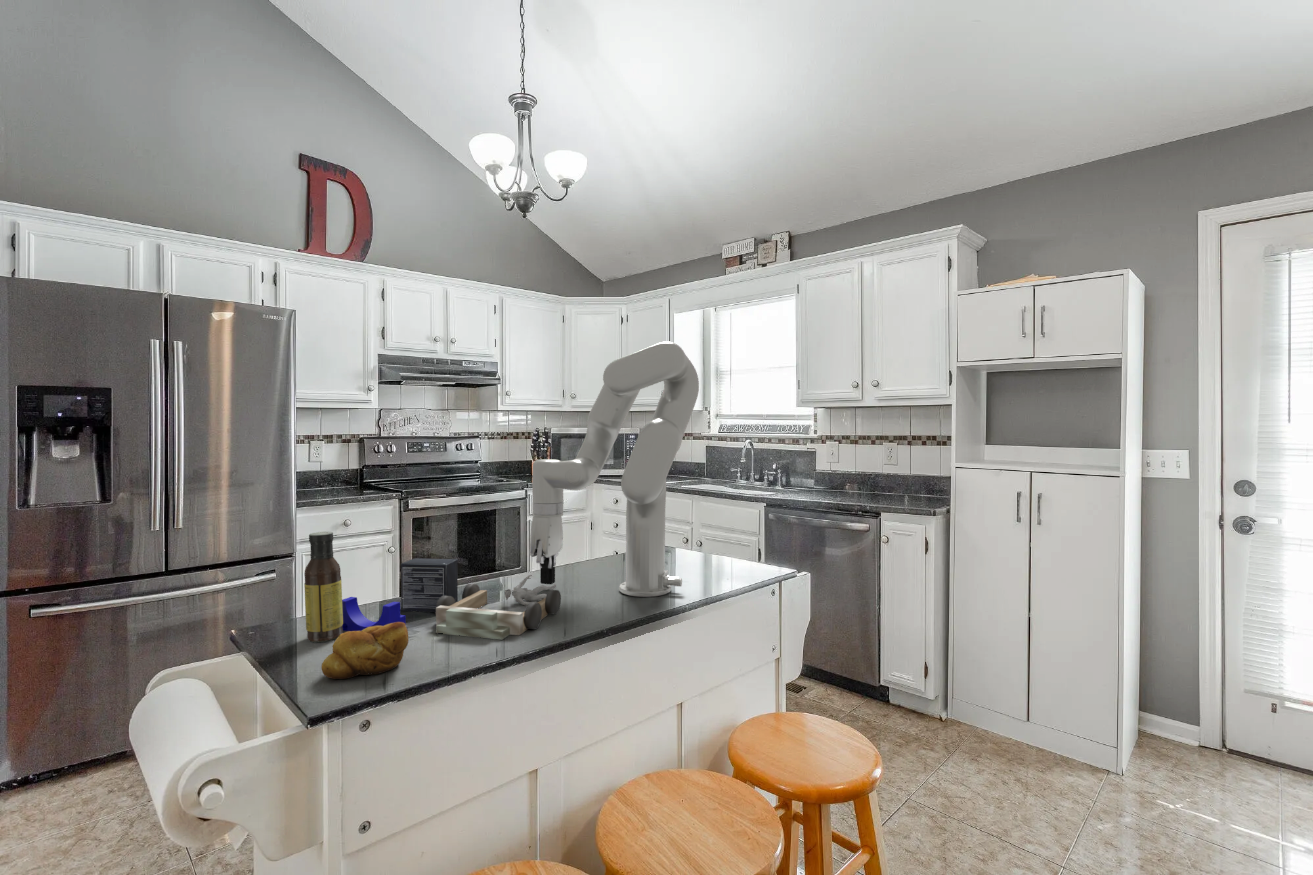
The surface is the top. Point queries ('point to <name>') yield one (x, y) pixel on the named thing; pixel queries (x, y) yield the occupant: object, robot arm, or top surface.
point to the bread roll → (366, 651)
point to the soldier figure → (527, 593)
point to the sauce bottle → (323, 590)
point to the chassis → (489, 615)
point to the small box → (427, 583)
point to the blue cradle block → (359, 622)
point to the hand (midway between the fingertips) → (547, 583)
